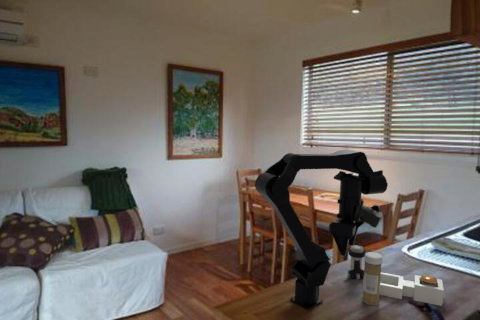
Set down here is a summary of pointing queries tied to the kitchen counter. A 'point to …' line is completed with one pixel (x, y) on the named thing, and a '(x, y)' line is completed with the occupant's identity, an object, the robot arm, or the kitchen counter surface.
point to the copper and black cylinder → (428, 280)
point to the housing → (411, 289)
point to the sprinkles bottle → (372, 278)
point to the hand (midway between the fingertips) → (347, 250)
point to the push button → (356, 262)
